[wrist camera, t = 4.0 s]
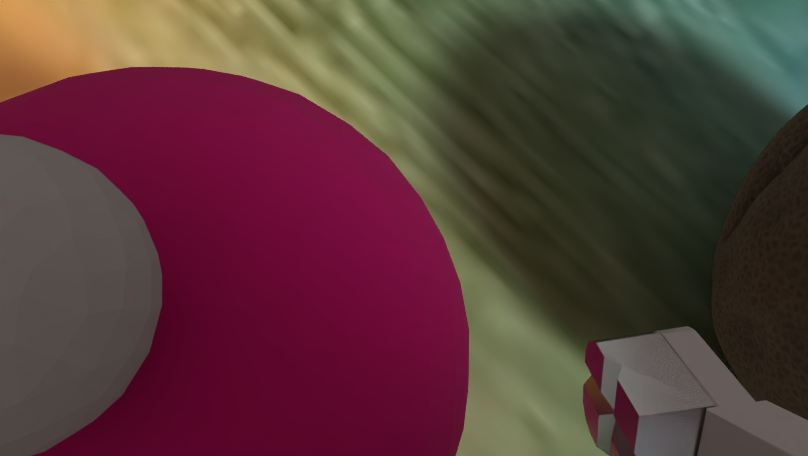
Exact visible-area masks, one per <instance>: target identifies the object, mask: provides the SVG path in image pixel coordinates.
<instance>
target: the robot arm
mask: <svg viewBox="0 0 808 456" xmlns="http://www.w3.org/2000/svg"><path fill="white" fill-rule="evenodd" d="M585 363H586V365H587V366H588V368H589V370H590V372H591V374H592V375H591V376H590V377H589V379H588V380H587V381H586V382H585V383H584V386H583V404H584V411H585V417H586V421H587V424H588V427H589V430H590V433H591V436H592V438H593V440H594V442H595V444H596V447H598V448H599V449H601V450H602V451H604V452H605V453H607V454H608V455H610V456H808V420H806V419H804V418H802V417H800V416H798V415H796V414H794V413H792V412H790V411H787V410H785V409H783V408H781V407H779V406H777V405H775V404H773V403H771V402H769V401H767V400H765V401H757V402H756V401H755V400H754V399H753V398H752V396H751V395H750V394H749V393H748V392H747V391H746V389H745V388H744V387H743V386H742V385H741V383H740V382H739V381H738V380H737V379H736V378H735V376H734V375H733V374H732V373H731V372H730V371H729V369H728V368H727V367H726V366H725V365H724V363H723V362H722V361H721V360H720V359H719V358H718V356H717V355H716V354H715V353H714V352H713V351H712V349H711V348H710V347H709V346H708V345H707V343H706V342H705V341H704V340H703V339H702V338H701V336H700V335H699V334H698V333H697V332H696V331H695V330H694V329H692V328H690V327H688V326H685V327H678V328H672V329H665V330H659V331H655V332H649V333H642V334H635V335H628V336H621V337H613V338H606V339H599V340H592V341H589V343H588V345H587V348H586V356H585Z"/></svg>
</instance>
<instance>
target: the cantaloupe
mask: <svg viewBox="0 0 808 456" xmlns="http://www.w3.org/2000/svg"><path fill="white" fill-rule="evenodd" d="M712 277H713V285H712V305H711V310H712V319H713V325H714V329H715V333H716V336H717V338H718V341H719V344H720V346H721V349H722V351H723V353H724V355H725V357H726V359H727V361H728V363H729V365H730V366H731V368H732V369H733V371H734V373H735V374H736V376H737V378H738V379H739V381H740V382H741V384H742V385H743V387H744V388H745V389H746V391H747V392H748V393H749V394H750V395H751V396H752V398H753V399H754V400H755V401H756V402H757V401H765V400H767V401H769V402H771V403H773V404H775V405H777V406H779V407H781V408H783V409H785V410H787V411H790V412H792V413H794V414H796V415H798V416H800V417H802V418H804V419H806V420H808V105H807V106H805V107H804V108H803V109H802V110H801V111H799V112H798V113H797V114H796V115H795V116H794V117H793V118H792V119H791V120H790V121H789V122H788V123H787V124H786V125H785V126H784V127H783V128H781V129H780V131H779V132H778V133H777V134H776V135H775V137H774V138H773V139H772V140H771V142H770V143H769V144H768V145H767V146H766V148H765V149H764V150H763V151H762V153H761V154H760V156H759V157H758V158H757V160H756V161H755V163H754V164H753V166H752V167H751V169H750V170H749V172H748V173H747V175H746V177H745V179H744V181H743V182H742V184H741V186H740V188H739V190H738V192H737V195H736V197H735V199H734V202H733V204H732V206H731V209H730V211H729V213H728V216H727V218H726V220H725V223H724V226H723V229H722V232H721V235H720V237H719V240H718V243H717V247H716V251H715V255H714V262H713V273H712Z"/></svg>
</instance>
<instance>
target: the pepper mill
mask: <svg viewBox="0 0 808 456" xmlns="http://www.w3.org/2000/svg"><path fill="white" fill-rule="evenodd" d="M468 375H469V328H468V322H467V317H466V312H465V306H464V301H463V295H462V290H461V285H460V281H459V278H458V276H457V273H456V270H455V267H454V265H453V262H452V259H451V257H450V254H449V251H448V249H447V246H446V243H445V240H444V238H443V236H442V234H441V233H440V231H439V229H438V227H437V225H436V224H435V222H434V220H433V218H432V216H431V215H430V213H429V211H428V209H427V208H426V206H425V204H424V202H423V200H422V199H421V197H420V196H419V195H418V193H417V192H416V191H415V190H414V188H413V187H412V186H411V184H410V183H409V182H408V181H407V179H406V178H405V177H404V176H403V174H402V173H401V172H400V171H399V169H398V168H397V167H396V166H395V164H394V163H393V162H392V161H391V159H390V158H389V157H388V156H387V155H386V154H385V153H384V152H382V151H381V150H380V149H379V148H378V147H376V146H375V145H374V144H373V143H371V142H370V141H369V140H368V139H367V138H365V137H364V136H363V135H362V134H361V133H359V132H358V131H357V130H356V129H354V128H353V127H352V126H351V125H349V124H348V123H346V122H345V121H343V120H341V119H340V118H338V117H336V116H335V115H333V114H331V113H330V112H328V111H326V110H325V109H323V108H321V107H320V106H318V105H316V104H315V103H313V102H311V101H309V100H308V99H306V98H304V97H303V96H301V95H299V94H296V93H294V92H291V91H288V90H285V89H282V88H279V87H276V86H273V85H270V84H267V83H264V82H261V81H258V80H254V79H251V78H247V77H244V76H239V75H234V74H228V73H222V72H217V71H211V70H206V69H196V68H180V67H130V68H123V69H116V70H110V71H103V72H97V73H90V74H85V75H80V76H74V77H69V78H66V79H63V80H60V81H58V82H55V83H52V84H50V85H47V86H44V87H41V88H39V89H36V90H33V91H31V92H28V93H25V94H23V95H20V96H17V97H14V98H12V99H9V100H6V101H4V102H1V103H0V456H455V455H456V452H457V449H458V446H459V442H460V439H461V435H462V432H463V427H464V419H465V411H466V402H467V394H468Z"/></svg>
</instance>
